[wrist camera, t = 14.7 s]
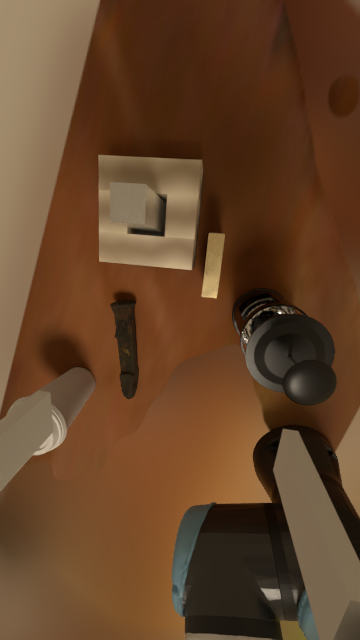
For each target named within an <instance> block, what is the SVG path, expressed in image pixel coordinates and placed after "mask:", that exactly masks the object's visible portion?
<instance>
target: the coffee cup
mask: <svg viewBox="0 0 360 640" xmlns="http://www.w3.org/2000/svg"><path fill="white" fill-rule="evenodd" d="M95 386H96V382H95V378H94V376H93V375H92V374H91V373H90V372H89V371H88V370H86V369H84V368H81V367H75V368H72V369H70V370H69V371H67V372H66V373H64V374H63V375H61V376H60V377H58V378H57V379H55V380H53V381H52V382H50V383H49V384H47V385H46V386H44V387H43V388H41V389H39V390H38V391H45V392H50V393H51V407H52V421H53V433H52V434H51V435H50V436H49V437H48V438H47V439H46V441H45V442H44V443H43V444H42V445H41V446H40V447H39V448H38V450H37V451H36V452H35V453H34V454H33V455H40V454H43V453H46V452H47V451H50V450H52V449H54V448H56V447H57V446H59V445H60V444H61V443H62V442H63V441H64V439H65V437H66V433H67V430H68V428H69V427H70V425H71V424H72V422H73V421H74V419H75V418H76V416H77V415H78V413H79V412H80V410H81V409H82V407H83V406H84V404H85V403H86V401H87V400H88V398H89V397H90V395H91V394H92V392H93V391H94V389H95ZM36 392H37V391H36ZM36 392H35V393H36ZM33 394H34V393H33ZM33 394H32V395H33ZM32 395H30V396H28V397H23V398H20V399H18V400H17V401H16V402H14V404H13V405H12V406H11V407H10V409H9V411H8V413H7V415H8V414H9V413H10V412H12V411H13V410H14V409H15V408H17V407H18V406H19V405H21V404H22V403H23V402H24V401H26V400H27V399H28V398H29V397H31V396H32Z"/></svg>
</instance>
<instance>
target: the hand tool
mask: <svg viewBox="0 0 360 640" xmlns="http://www.w3.org/2000/svg"><path fill="white" fill-rule="evenodd" d="M135 304H136V302H135V301H117V302H114V303H112V304H110V306H111V308H112V310H113V312H114V315H115V323H116V334H115V337H116V338H117V341H118V350H119V358H120V365H121V374H120V381H121V387H122V392H123V395H124V396H125V397H126V398H127V399H131V398H132V397H134V396H135V392H136V389H137V383H138V374H139V368H138V367H137V352H136V349H137V347H136V338H135V336H136V334H135V321H134V305H135Z"/></svg>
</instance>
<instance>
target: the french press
mask: <svg viewBox="0 0 360 640" xmlns="http://www.w3.org/2000/svg"><path fill="white" fill-rule="evenodd" d="M262 296H264V297H269V298H265V299H260V300H258V301H255V302H254V303H252V304H251V305H249V306H248V307H247V308H246V309H245V310H244V312H243V313H242V314H241V310H242V308H243V306H244V305H245V304H246V303H247V302H248V301H249V300H251V299H253V298H255V297H262ZM293 308H294V309H297V310H298V311H300V312H301V313H302V314H303V315H301V314H296V312H295V311H294V309H293ZM232 320H233V325H234V327H235V329H236V330H237V332H238V334H239V335H240V343H241V347H242V350H243V352H244V355H245V359H246V364H247V367H248V369H249V372H250V374H251V375H252V376H253V378H254V379H255V380H256V381H257V382H258V383H260V384H261V385H263V386H264V387H266V388H268V389H271V390H273V391H277V392H284V393H285V394H286V395H287V396H288V397H289V398H290V399H291V400H292V401H294V402H296V403H298V404H301V405H316V404H319V403H322V402H324V401H325V400H327V399H328V398H329V397H330V396H331V395H332V394H333V392H334V391H335V388H336V383H337V380H336V375H335V372H334V371H333V369H332V368H331V366H332V363H333V360H334V354H335V349H334V342H333V340H332V337H331V335H330V333H329V332H328V330H327V329H326V328H325V327H324V326H323V325H322V324H321V323H320V322H318V321H316V320H315V319H313V318H311V317H308V316H307V315H306V314H305V313H304V312H303V311H302V310H300V309H298V308H297V307H295V306H294V305H292V304H291V303H289V302H288V301H286V300H285V299H284V298H283V297H282V296H281V295H280V294H279V293H277V292H275V291H273V290H270V289H265V288H260V289H254V290H251V291H249V292H247V293H245V294H244V295H242V296H241V297H240V298H239V299H238V301H237V302H236V304H235V306H234V308H233V312H232ZM242 340H243V342H244V343H245V344H246V350H244V348H243V344H242Z"/></svg>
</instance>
